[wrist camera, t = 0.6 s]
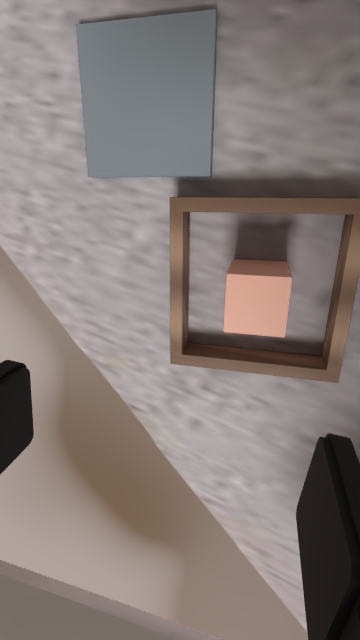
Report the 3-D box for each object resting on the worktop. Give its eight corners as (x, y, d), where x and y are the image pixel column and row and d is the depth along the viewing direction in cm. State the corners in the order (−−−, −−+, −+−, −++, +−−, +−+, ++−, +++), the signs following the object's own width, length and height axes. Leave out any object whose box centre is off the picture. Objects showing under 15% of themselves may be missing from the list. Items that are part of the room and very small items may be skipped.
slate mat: (211, 176, 31) (210, 176, 30) (92, 177, 34) (88, 176, 33) (217, 14, 27) (216, 9, 26) (80, 28, 29) (76, 24, 29)
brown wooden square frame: (332, 368, 35) (338, 382, 32) (177, 351, 38) (170, 363, 35) (363, 198, 29) (373, 198, 26) (177, 197, 32) (169, 197, 30)
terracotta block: (280, 310, 34) (284, 337, 27) (230, 307, 35) (223, 332, 29) (286, 261, 32) (292, 277, 26) (233, 259, 33) (226, 273, 27)
